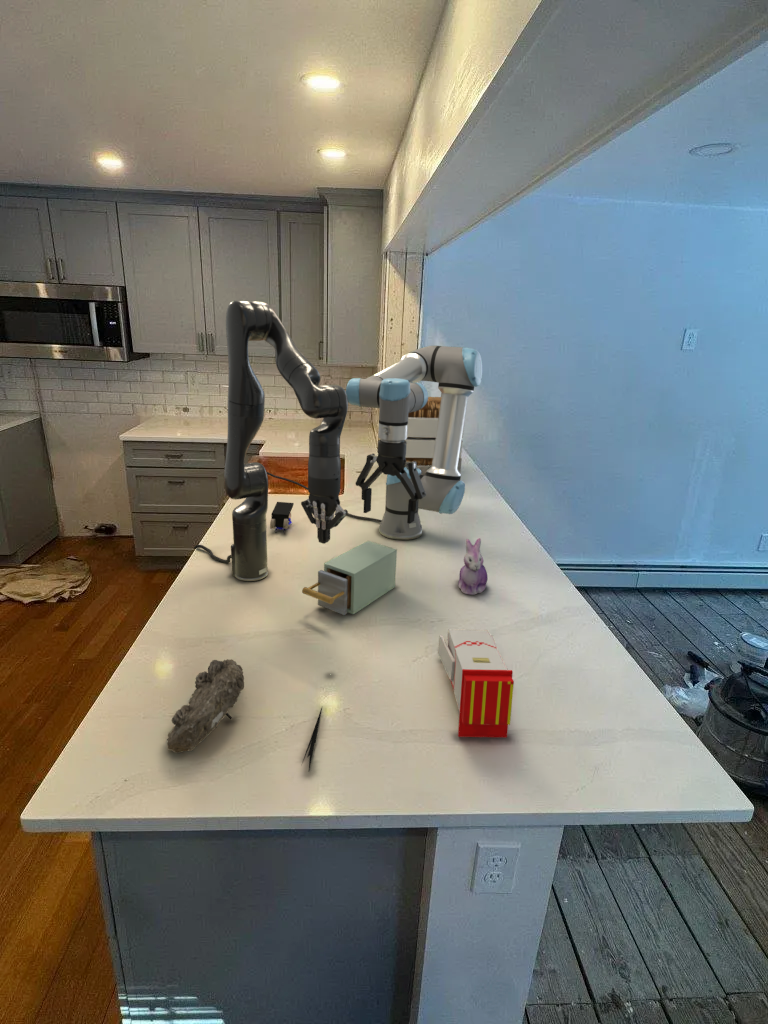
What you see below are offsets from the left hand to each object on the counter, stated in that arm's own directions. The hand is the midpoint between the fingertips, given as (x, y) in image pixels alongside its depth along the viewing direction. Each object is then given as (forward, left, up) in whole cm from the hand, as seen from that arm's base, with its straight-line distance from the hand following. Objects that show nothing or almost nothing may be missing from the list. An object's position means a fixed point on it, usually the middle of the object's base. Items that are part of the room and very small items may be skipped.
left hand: (323, 542), depth 137 cm
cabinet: (+5, +15, -21) cm, 26 cm away
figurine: (+34, +31, -21) cm, 50 cm away
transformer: (-9, +142, -21) cm, 144 cm away
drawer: (+3, +9, -20) cm, 22 cm away
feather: (+14, -35, -21) cm, 43 cm away
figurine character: (-37, +52, -21) cm, 67 cm away
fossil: (-6, -41, -21) cm, 47 cm away
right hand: (+10, +22, 0) cm, 24 cm away
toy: (+40, -17, -21) cm, 48 cm away
